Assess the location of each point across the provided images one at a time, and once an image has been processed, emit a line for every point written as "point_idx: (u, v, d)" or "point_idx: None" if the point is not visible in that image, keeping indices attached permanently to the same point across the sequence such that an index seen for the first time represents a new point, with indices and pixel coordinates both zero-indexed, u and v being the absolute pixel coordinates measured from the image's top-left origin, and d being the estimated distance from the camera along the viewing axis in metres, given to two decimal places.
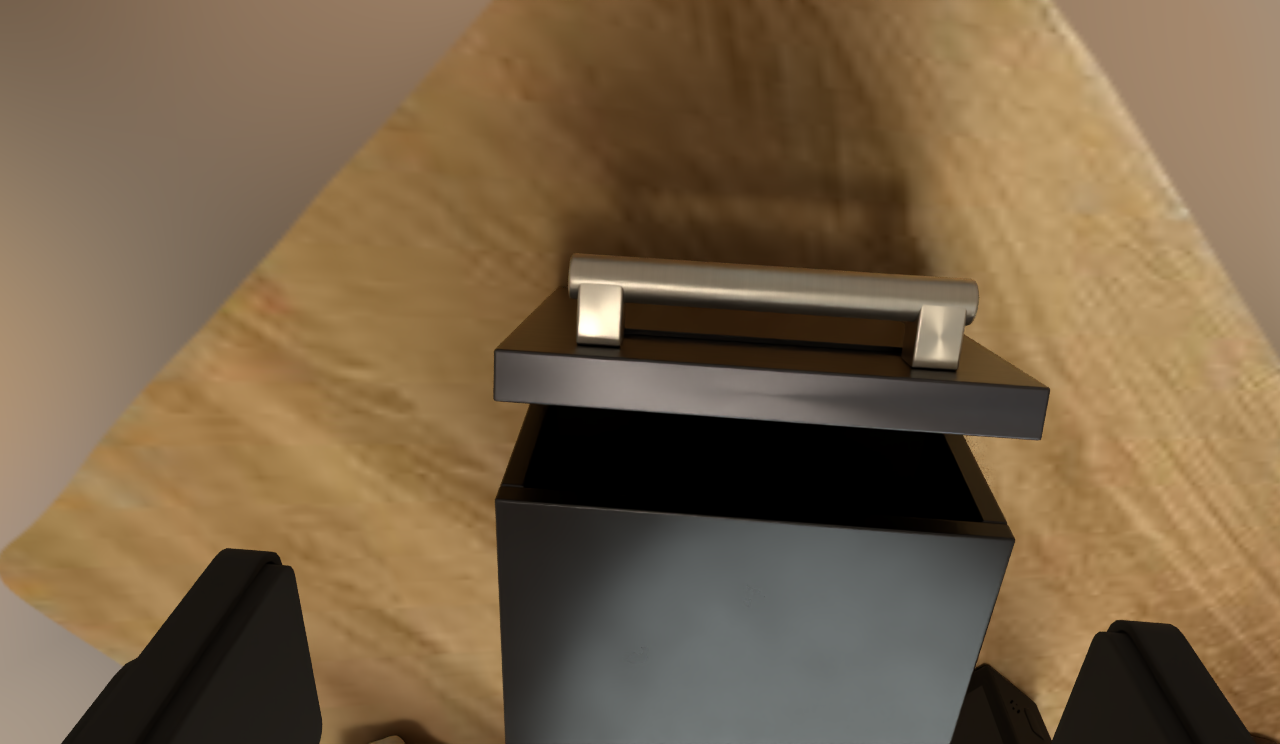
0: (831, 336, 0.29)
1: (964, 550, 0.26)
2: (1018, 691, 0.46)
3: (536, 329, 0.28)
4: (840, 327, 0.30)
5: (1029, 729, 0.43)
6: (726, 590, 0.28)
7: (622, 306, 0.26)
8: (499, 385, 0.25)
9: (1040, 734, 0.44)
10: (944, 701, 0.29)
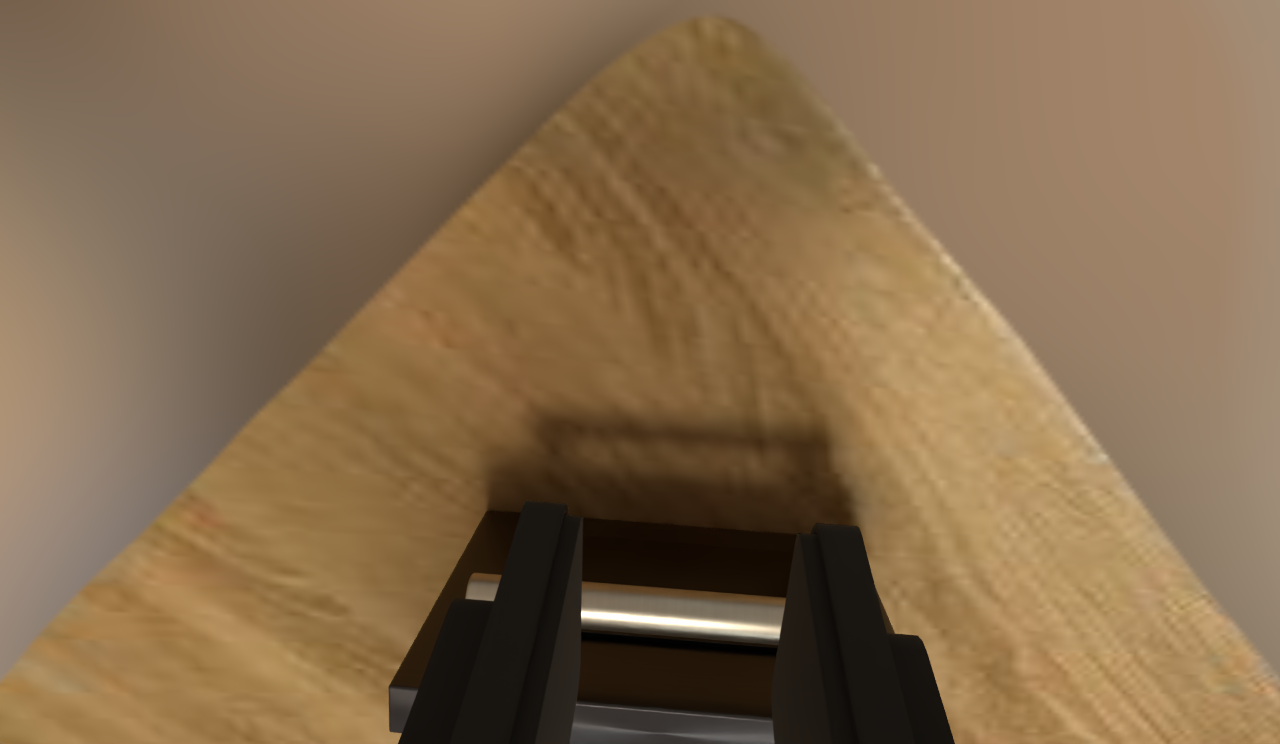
0: None
1: None
2: None
3: None
4: None
5: None
6: None
7: None
8: (394, 718, 0.25)
9: None
10: None
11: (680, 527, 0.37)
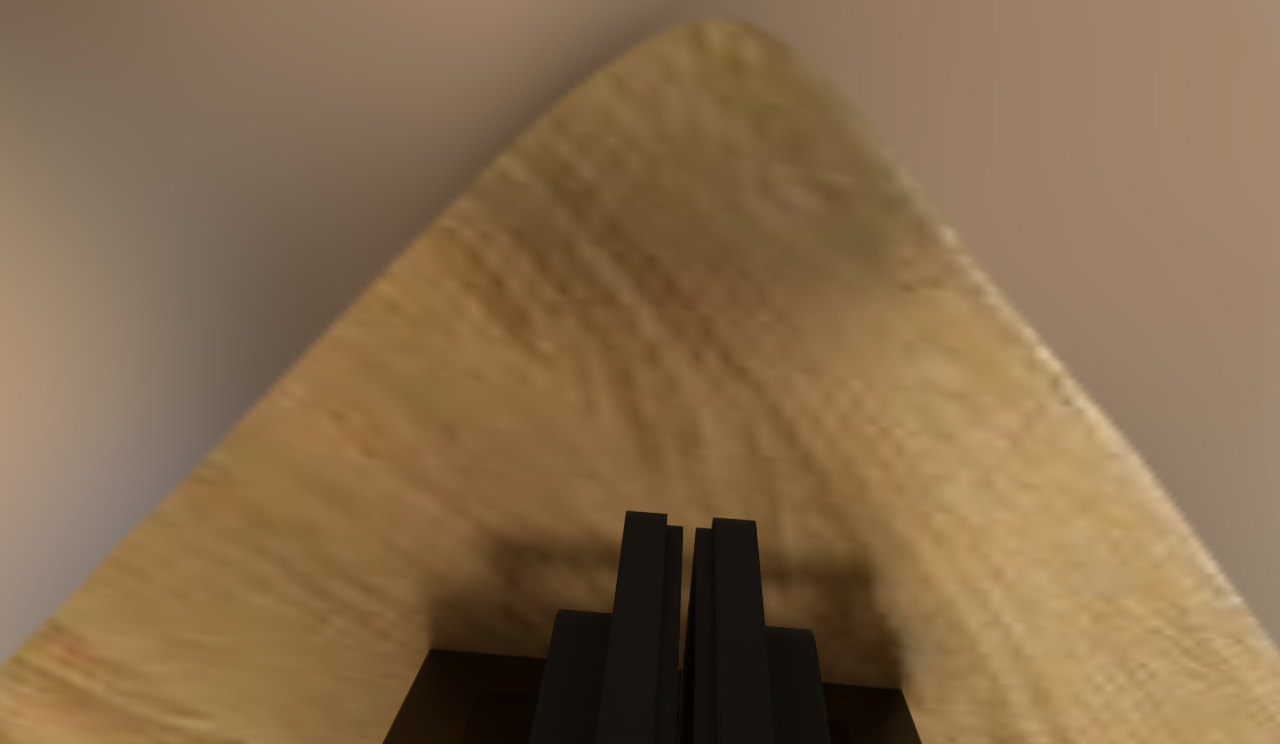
0: None
1: None
2: None
3: None
4: None
5: None
6: None
7: None
8: None
9: None
10: None
11: None
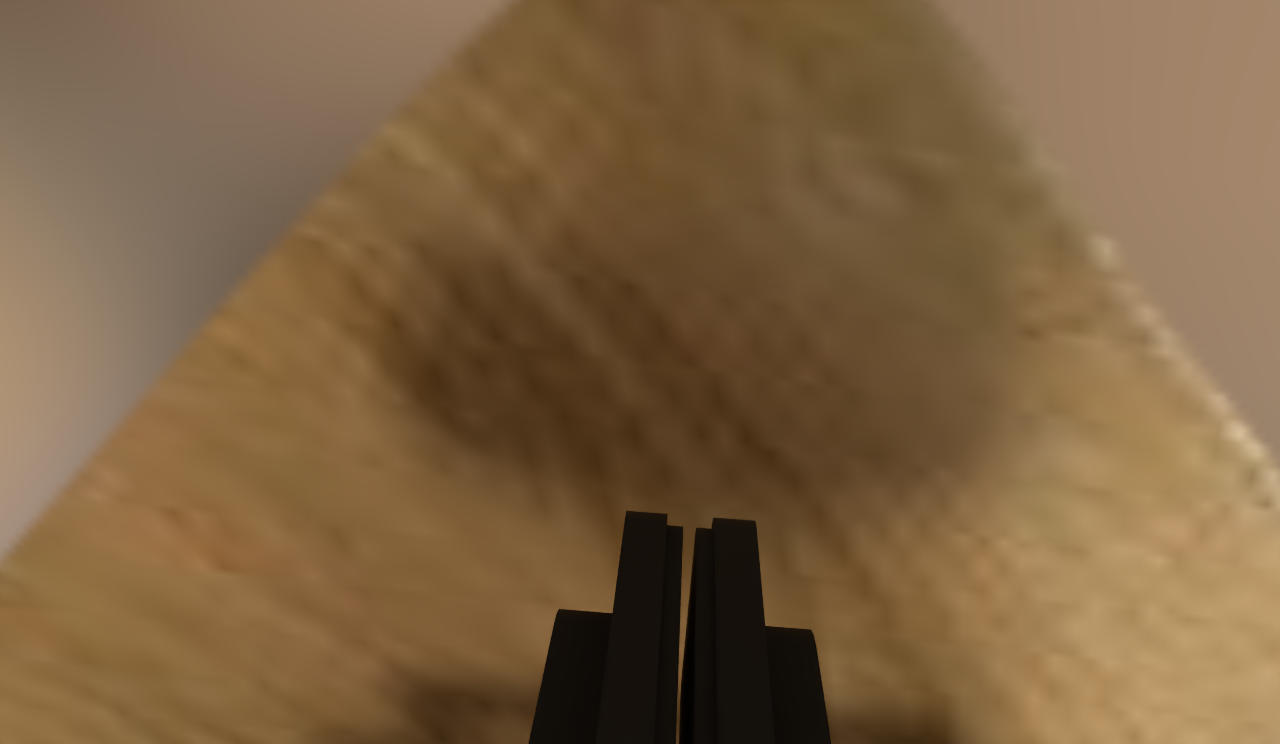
0: None
1: None
2: None
3: None
4: None
5: None
6: None
7: None
8: None
9: None
10: None
11: None
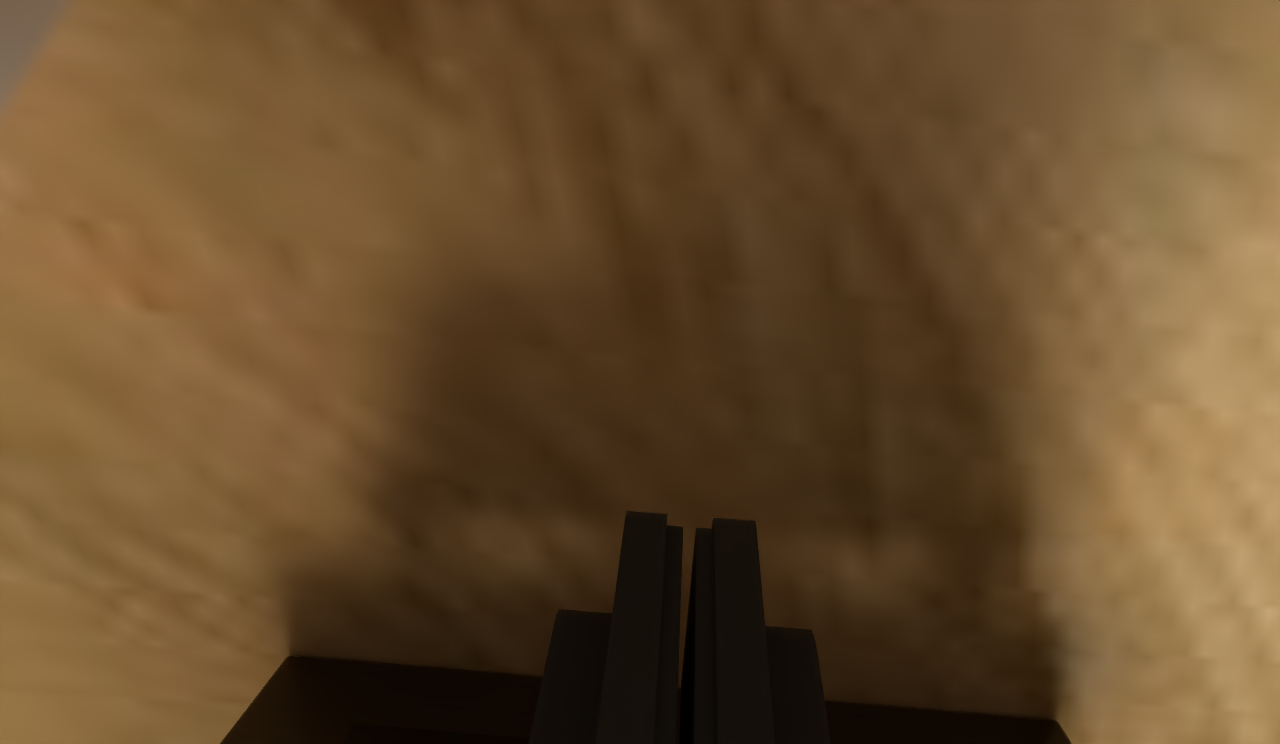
0: None
1: None
2: None
3: None
4: None
5: None
6: None
7: None
8: None
9: None
10: None
11: None
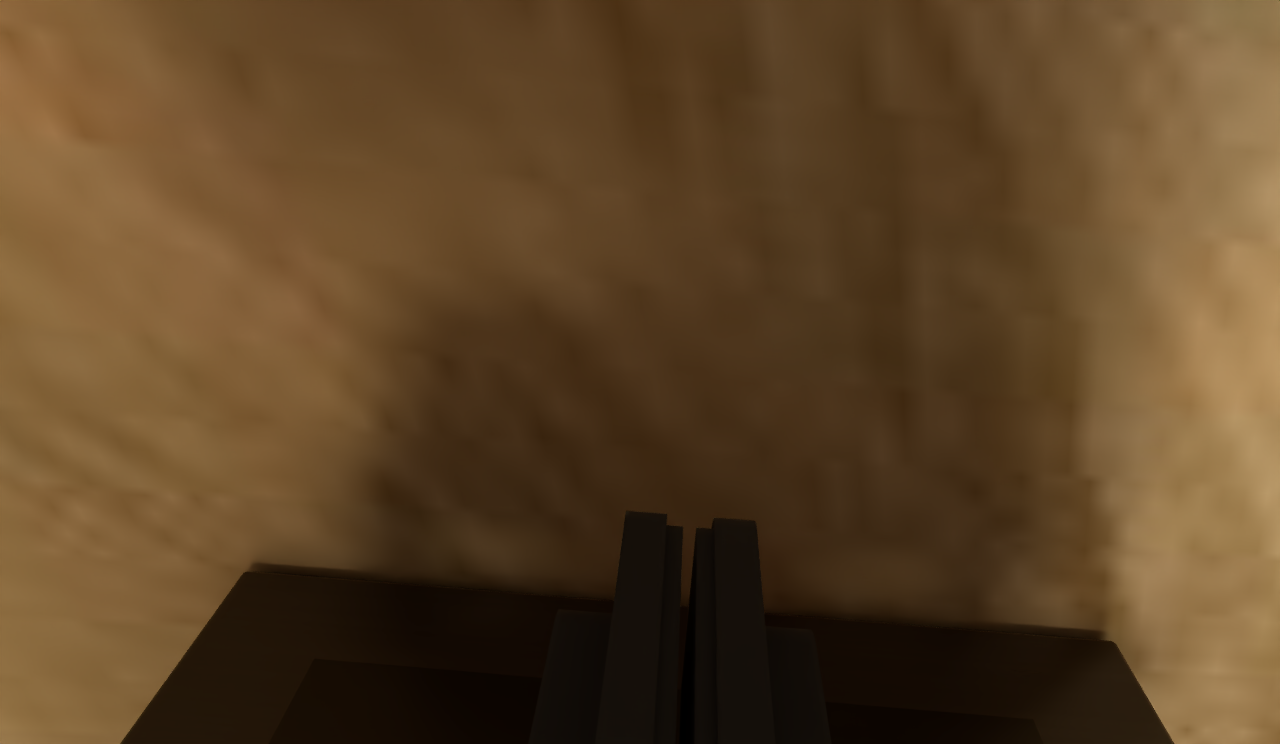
0: None
1: None
2: None
3: None
4: None
5: None
6: None
7: None
8: None
9: None
10: None
11: None
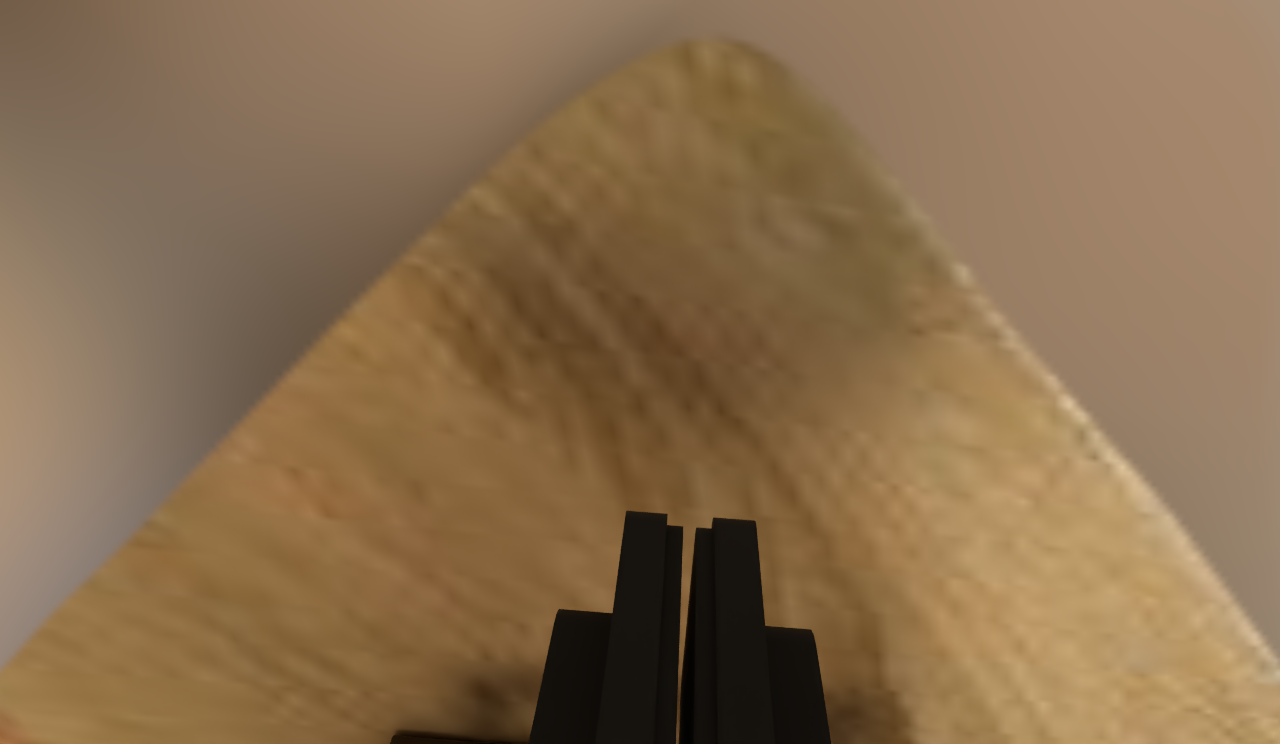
0: None
1: None
2: None
3: None
4: None
5: None
6: None
7: None
8: None
9: None
10: None
11: None
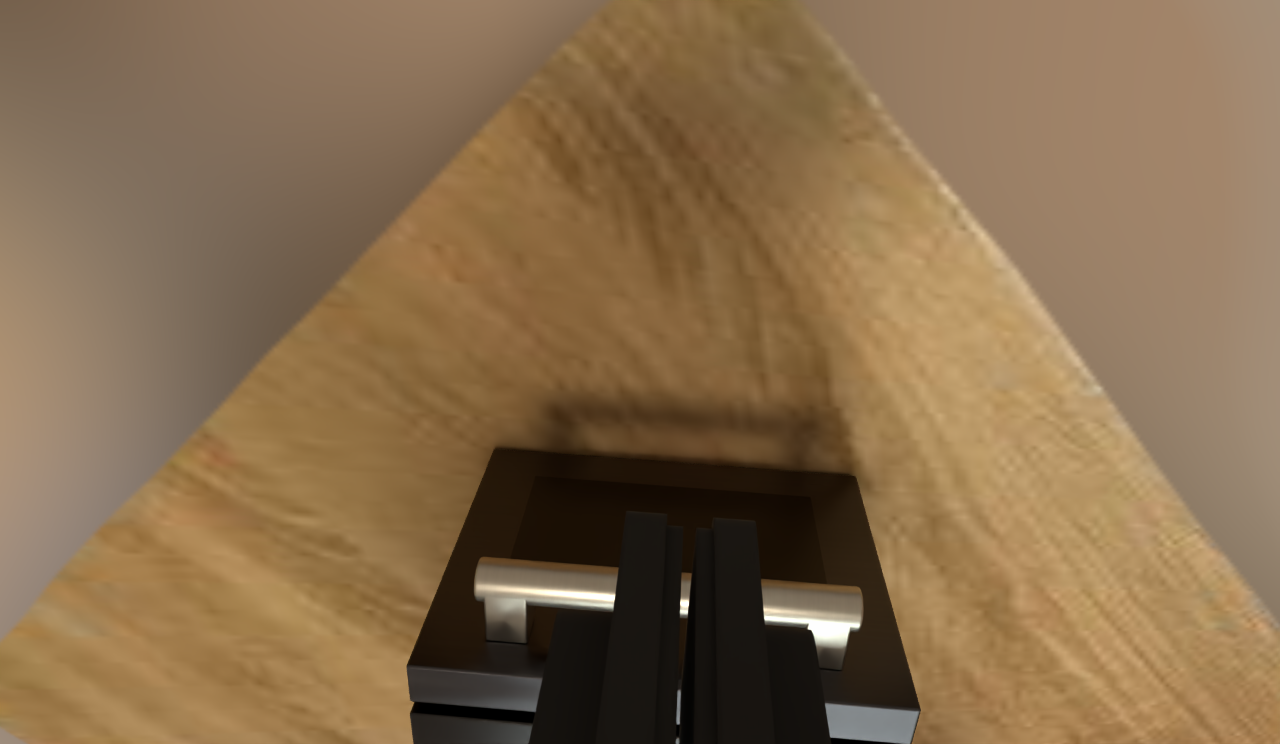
0: None
1: None
2: None
3: (454, 597, 0.29)
4: None
5: None
6: None
7: (527, 613, 0.27)
8: (414, 691, 0.27)
9: None
10: None
11: (684, 465, 0.37)
